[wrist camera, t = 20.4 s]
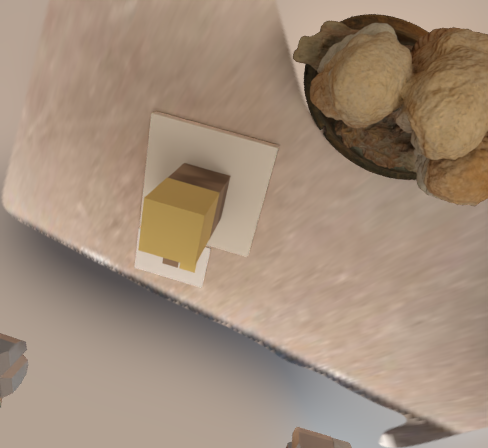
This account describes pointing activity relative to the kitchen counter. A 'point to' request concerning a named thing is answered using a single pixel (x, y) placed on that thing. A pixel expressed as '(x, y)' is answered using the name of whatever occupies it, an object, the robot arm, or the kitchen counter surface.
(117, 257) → the kitchen counter surface
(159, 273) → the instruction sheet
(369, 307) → the kitchen counter surface
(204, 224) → the mustard block
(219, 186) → the walnut block
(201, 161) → the plate
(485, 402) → the kitchen counter surface
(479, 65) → the three owls sculpture
